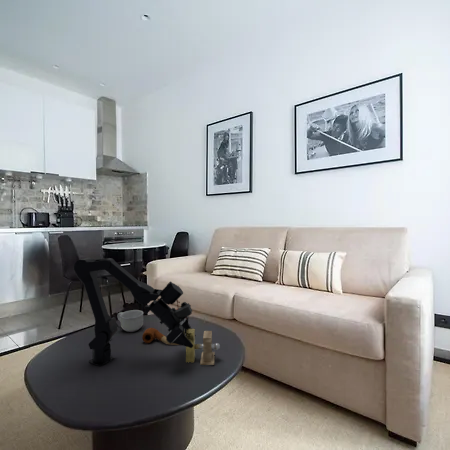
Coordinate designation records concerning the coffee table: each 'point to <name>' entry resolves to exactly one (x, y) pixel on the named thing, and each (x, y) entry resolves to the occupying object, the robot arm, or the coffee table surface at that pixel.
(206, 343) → the eye post
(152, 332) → the smoking pipe
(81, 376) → the coffee table surface
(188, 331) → the olive block with rod
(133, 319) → the teacup
